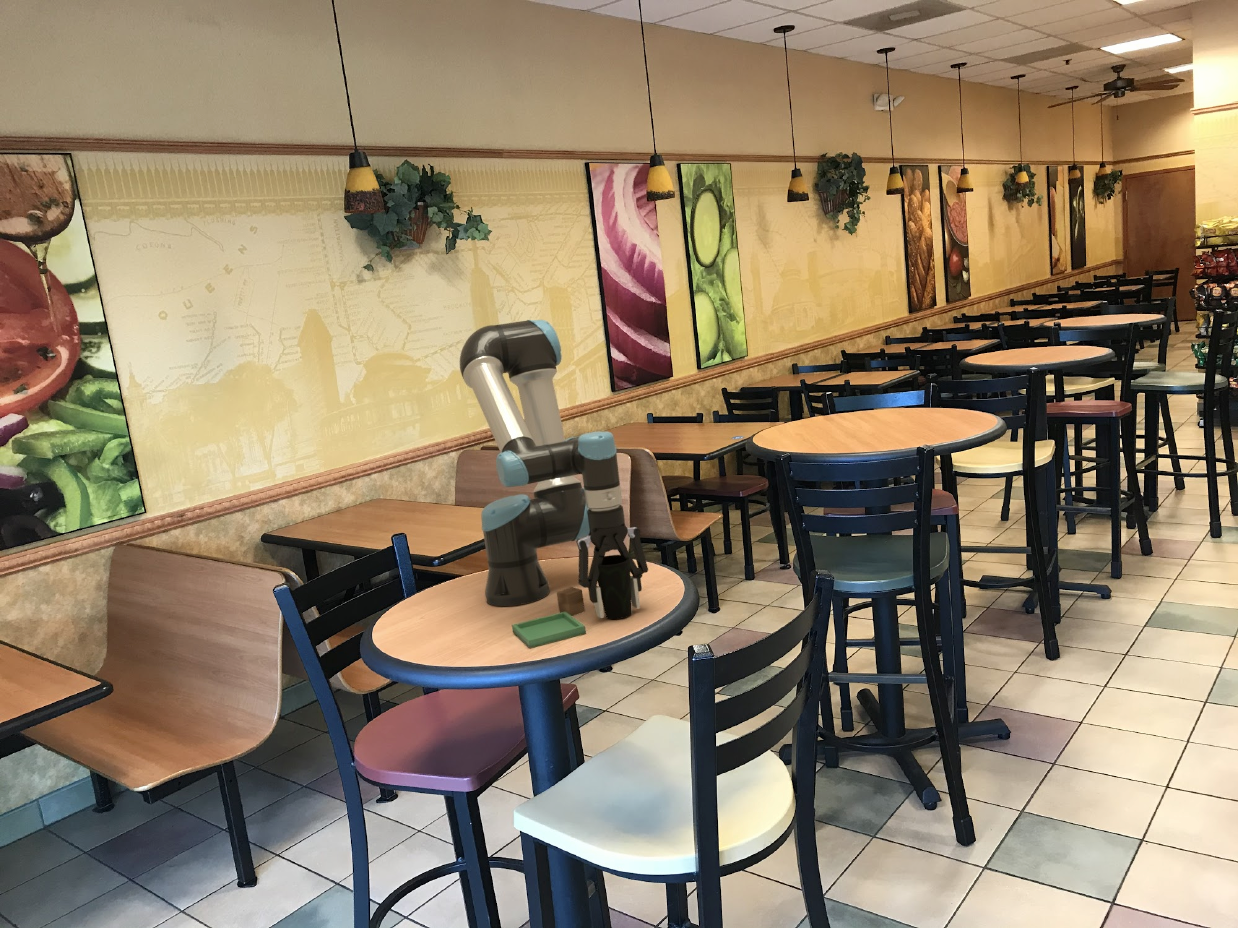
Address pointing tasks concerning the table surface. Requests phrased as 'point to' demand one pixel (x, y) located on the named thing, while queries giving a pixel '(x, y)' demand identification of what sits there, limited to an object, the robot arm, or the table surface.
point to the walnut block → (571, 601)
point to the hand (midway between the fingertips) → (618, 611)
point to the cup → (615, 586)
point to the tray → (548, 629)
